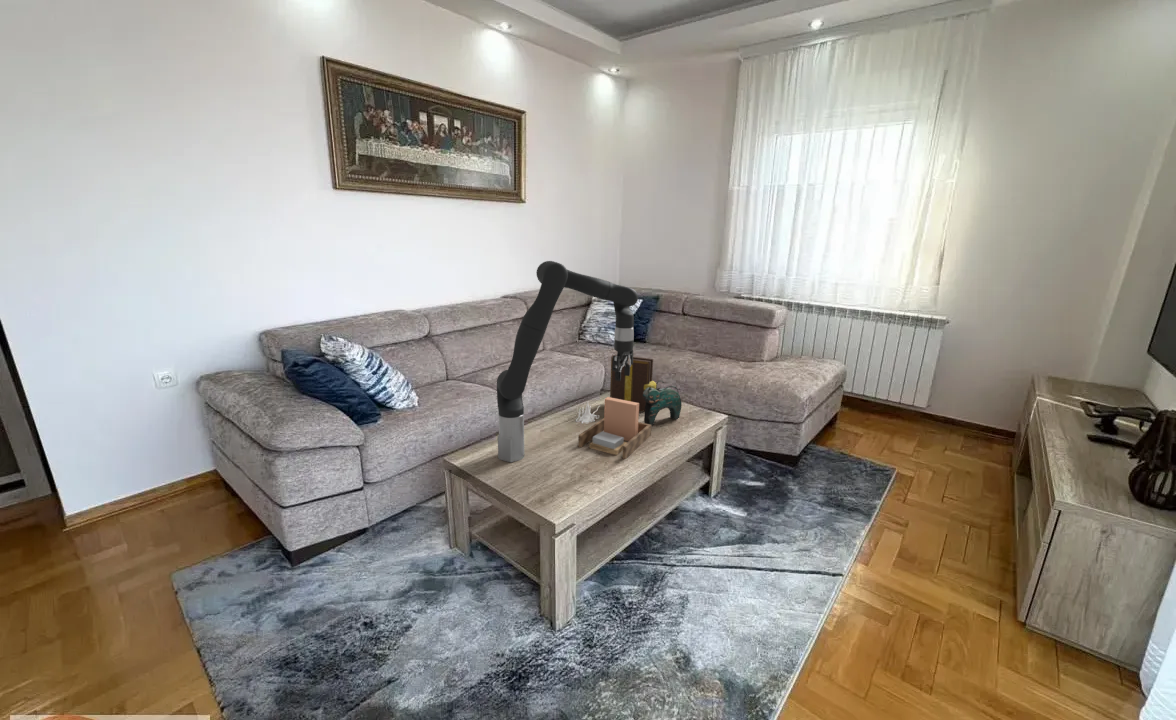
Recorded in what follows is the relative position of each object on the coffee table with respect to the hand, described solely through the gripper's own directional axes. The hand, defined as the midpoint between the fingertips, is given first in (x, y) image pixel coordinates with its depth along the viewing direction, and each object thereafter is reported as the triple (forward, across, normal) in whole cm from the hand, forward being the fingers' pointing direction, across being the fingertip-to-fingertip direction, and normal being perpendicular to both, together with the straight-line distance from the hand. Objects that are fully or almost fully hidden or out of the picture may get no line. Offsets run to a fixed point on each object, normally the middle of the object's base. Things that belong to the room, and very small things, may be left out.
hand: (622, 378), depth 196 cm
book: (+26, +34, +10) cm, 44 cm away
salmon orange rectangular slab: (+26, 0, 0) cm, 26 cm away
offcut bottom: (+26, -11, 0) cm, 29 cm away
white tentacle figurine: (+26, +10, +21) cm, 35 cm away
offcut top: (+24, -11, 0) cm, 26 cm away
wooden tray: (+26, -5, 0) cm, 26 cm away
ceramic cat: (+26, +25, -8) cm, 37 cm away
